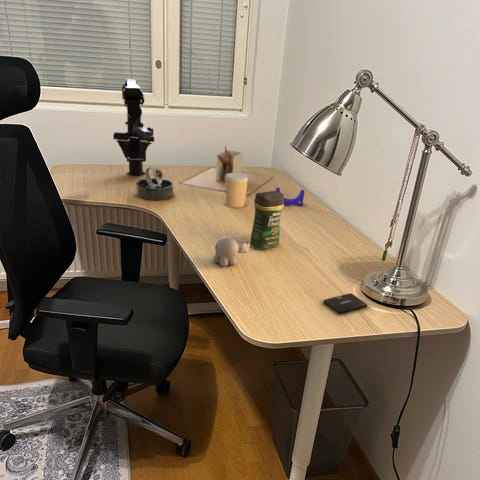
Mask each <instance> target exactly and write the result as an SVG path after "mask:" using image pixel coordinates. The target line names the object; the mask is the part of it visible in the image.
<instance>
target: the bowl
mask: <svg viewBox="0 0 480 480" xmlns="http://www.w3.org/2000/svg"><path fill="white" fill-rule="evenodd" d="M150 178H151V180H152V183H153V184H158V182H157V181H156V179H155V178H154V177H150ZM146 186H149V184H148V183H147V181H146V178H144V179H140V180H137V181H136V183H135V187H136V195H137V196H138V197H139V198H141V199H144V200H148V201H149V200H150V201H162V200H163V201H164V200H168V199H170V198H171V197H172V196H173V195H174V182H172V181H171V180H168V179H165V178H163V181H162V183H161V186H162V188H146Z"/></svg>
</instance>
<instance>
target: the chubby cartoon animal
mask: <svg viewBox="0 0 480 480" xmlns="http://www.w3.org/2000/svg"><path fill="white" fill-rule="evenodd" d="M241 238H242V237H241V236H239V237H238V238H237V239H236V240H235V238H233V237H231V236H223V237H222V236H221V238H219V239H218V240H217V241H216V243H215V245H214V251H215V254H214V256H213V262H215V263H216V264H219V266H220V267H227V266H228V265H229V266H234V265H236V263H237V259H236V256H237V255H238V254H248V252H249V250H250V241H248V242H247V243H246V239H241Z"/></svg>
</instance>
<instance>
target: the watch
mask: <svg viewBox="0 0 480 480" xmlns="http://www.w3.org/2000/svg"><path fill="white" fill-rule="evenodd" d="M150 170H151V171H152V177H153V178H155V179H156V181H157V182H158V184H153V183H152V180H151V178H152V177H151V175H150V172H149V171H150ZM144 172H145V174H144V179H146V181H147V183H148V184H149V186H146V188H162V186H161V183H162V181H163V179H164V172H163V171H162V170H161V169H160V168H158V167H157V166H149V167H147V168H146V169H145V171H144Z"/></svg>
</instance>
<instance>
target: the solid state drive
mask: <svg viewBox="0 0 480 480" xmlns="http://www.w3.org/2000/svg"><path fill="white" fill-rule="evenodd" d="M323 303H324V304H325V305H327V307H329V308H330V309H332V310H333V311H334V312H336V314H339V315H341V314H344V313H349V312H352V311H356V310H360V309H364V308H367V307H368V303H366V302H365V301H364V300H363V299H360V298H359V297H357V296H356V295H355V294H353V293H345V294H341V295H338V296H334V297H329V298H326V299H323Z"/></svg>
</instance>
